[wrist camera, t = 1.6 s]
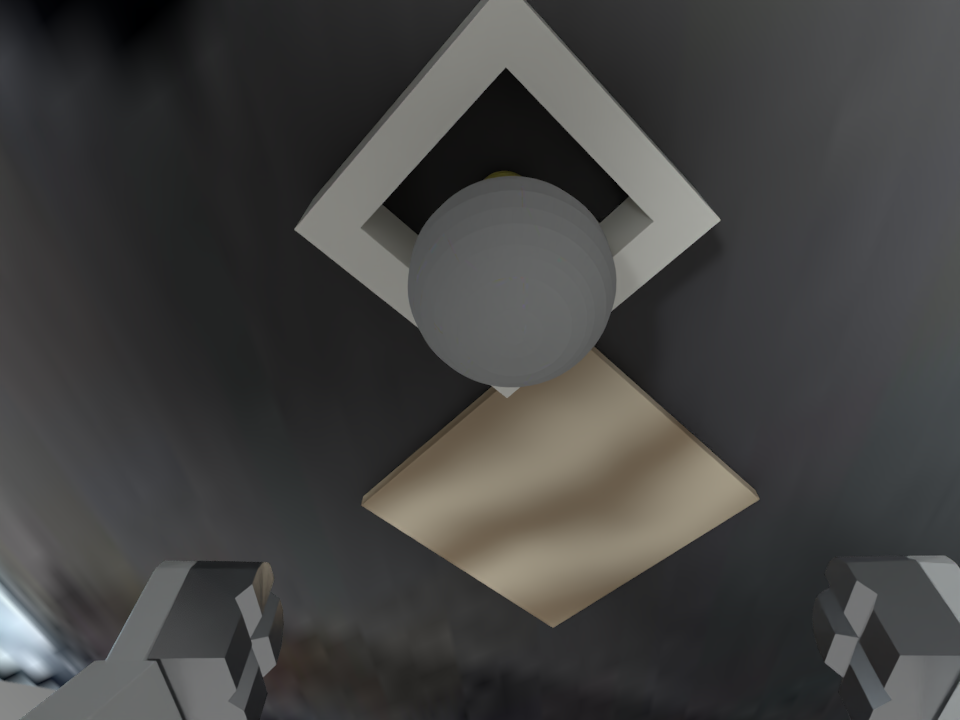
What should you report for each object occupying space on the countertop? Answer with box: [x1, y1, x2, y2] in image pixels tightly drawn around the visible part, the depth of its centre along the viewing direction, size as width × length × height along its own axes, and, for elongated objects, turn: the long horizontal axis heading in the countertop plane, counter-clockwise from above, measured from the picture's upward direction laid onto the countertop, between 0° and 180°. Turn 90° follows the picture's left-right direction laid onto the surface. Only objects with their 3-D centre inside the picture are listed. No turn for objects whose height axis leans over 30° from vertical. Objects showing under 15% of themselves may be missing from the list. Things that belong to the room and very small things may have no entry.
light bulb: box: [408, 171, 617, 387], centre depth 20 cm, size 5×6×10 cm
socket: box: [294, 0, 721, 398], centre depth 23 cm, size 10×10×3 cm
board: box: [361, 347, 760, 628], centre depth 32 cm, size 13×13×1 cm
